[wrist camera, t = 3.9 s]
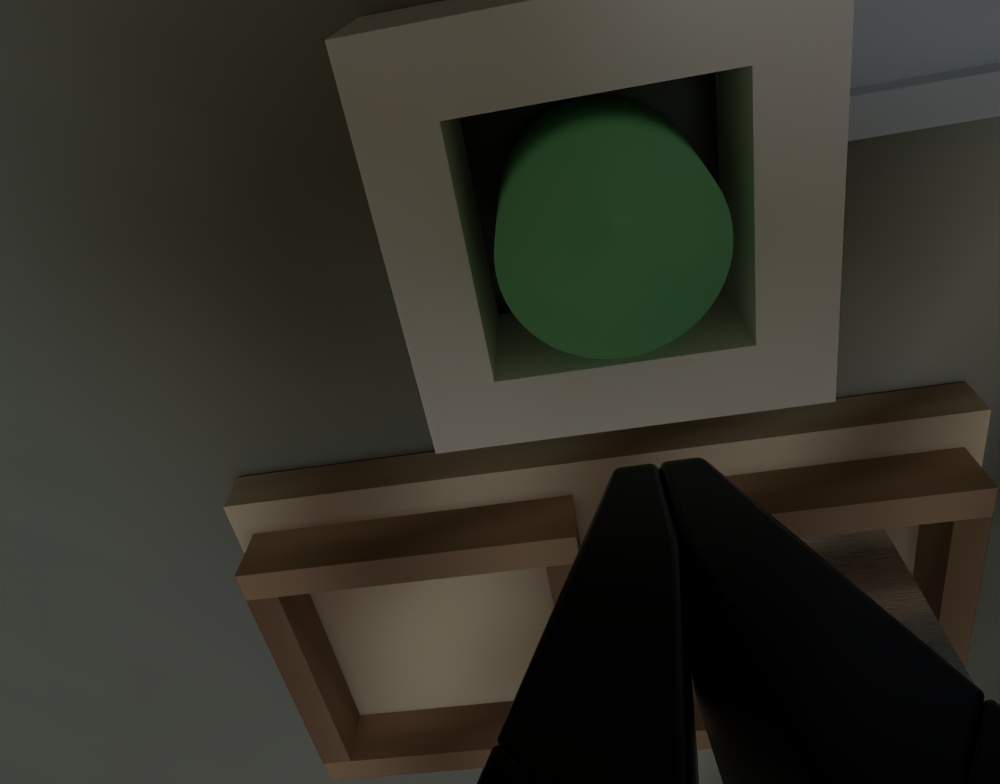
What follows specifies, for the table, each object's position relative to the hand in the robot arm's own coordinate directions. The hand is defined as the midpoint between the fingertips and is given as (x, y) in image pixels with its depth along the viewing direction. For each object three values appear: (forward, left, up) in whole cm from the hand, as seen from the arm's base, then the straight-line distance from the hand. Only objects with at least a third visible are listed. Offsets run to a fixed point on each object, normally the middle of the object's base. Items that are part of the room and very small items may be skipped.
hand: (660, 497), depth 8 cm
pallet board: (+1, +11, -10) cm, 15 cm away
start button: (0, 0, -10) cm, 10 cm away
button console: (0, 0, -10) cm, 10 cm away
